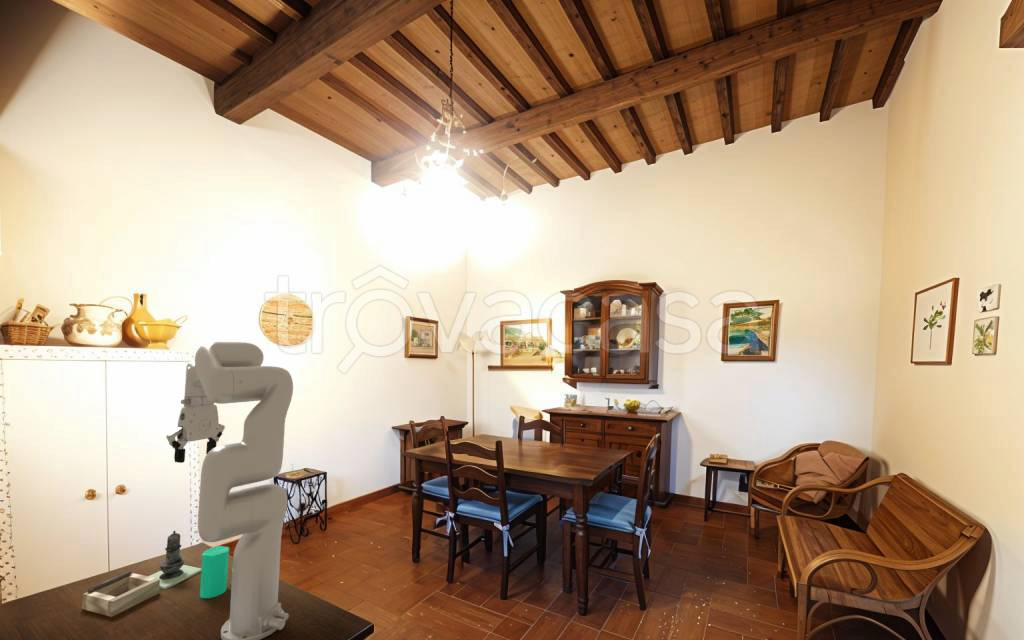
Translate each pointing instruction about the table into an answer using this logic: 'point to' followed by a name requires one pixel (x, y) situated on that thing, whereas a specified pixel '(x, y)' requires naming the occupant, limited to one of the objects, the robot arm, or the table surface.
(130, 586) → the holder
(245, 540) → the robot arm
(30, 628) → the table surface
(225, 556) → the candle
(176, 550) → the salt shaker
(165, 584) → the mat
